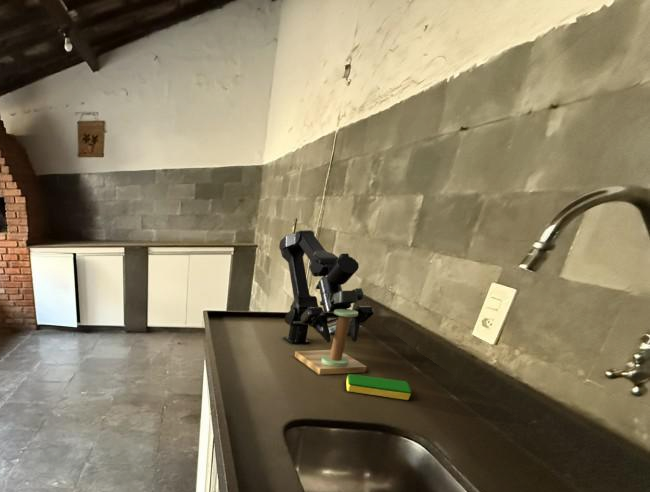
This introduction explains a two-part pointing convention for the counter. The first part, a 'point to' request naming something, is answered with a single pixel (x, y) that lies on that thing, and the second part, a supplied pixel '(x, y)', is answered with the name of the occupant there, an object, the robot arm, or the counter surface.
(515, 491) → the counter surface
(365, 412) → the counter surface
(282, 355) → the counter surface
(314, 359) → the birch platform
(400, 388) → the dish sponge
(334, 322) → the grey streaked wedge
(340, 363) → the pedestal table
